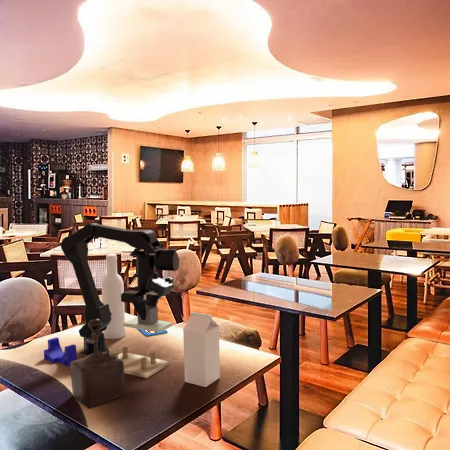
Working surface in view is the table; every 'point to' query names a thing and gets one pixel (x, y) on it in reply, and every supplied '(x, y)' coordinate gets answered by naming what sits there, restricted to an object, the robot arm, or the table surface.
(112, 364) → the pepper mill
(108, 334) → the bottle
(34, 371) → the table surface
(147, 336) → the handheld gaming device
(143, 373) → the plate
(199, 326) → the milk carton
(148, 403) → the table surface
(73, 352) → the cable clip
